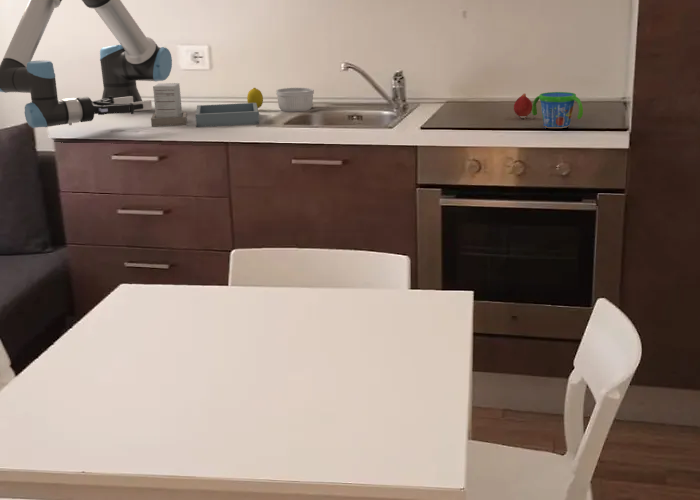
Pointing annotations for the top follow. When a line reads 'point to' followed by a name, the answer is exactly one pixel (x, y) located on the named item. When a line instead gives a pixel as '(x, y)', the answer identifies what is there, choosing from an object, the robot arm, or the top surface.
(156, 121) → the collar
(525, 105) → the onion
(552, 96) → the snack cup
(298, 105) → the ramekin
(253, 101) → the lemon
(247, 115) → the tray
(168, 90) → the supplement box
